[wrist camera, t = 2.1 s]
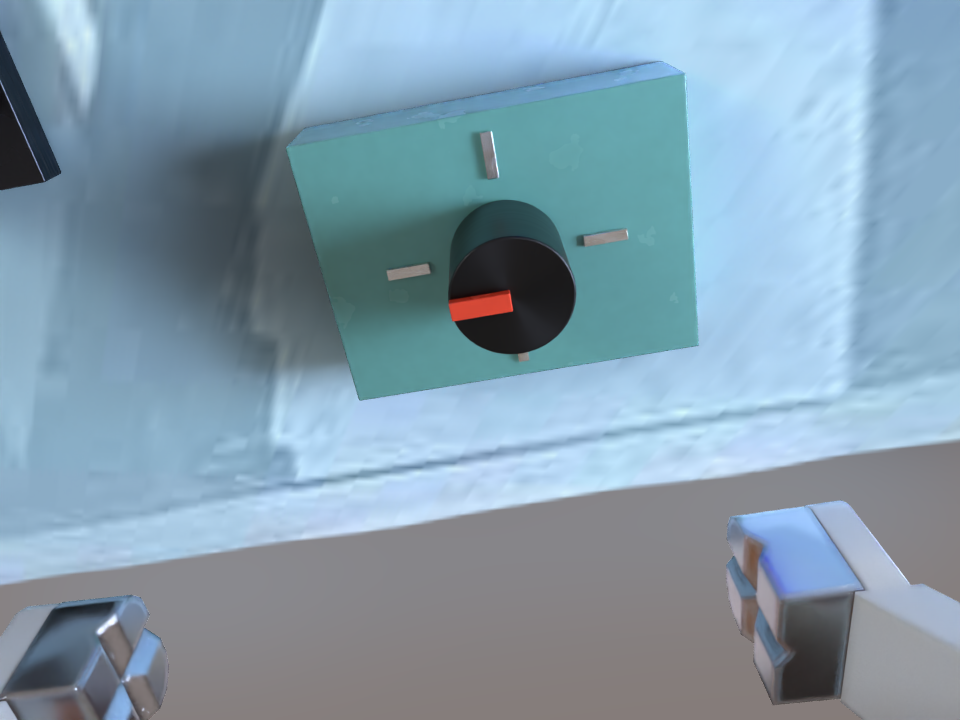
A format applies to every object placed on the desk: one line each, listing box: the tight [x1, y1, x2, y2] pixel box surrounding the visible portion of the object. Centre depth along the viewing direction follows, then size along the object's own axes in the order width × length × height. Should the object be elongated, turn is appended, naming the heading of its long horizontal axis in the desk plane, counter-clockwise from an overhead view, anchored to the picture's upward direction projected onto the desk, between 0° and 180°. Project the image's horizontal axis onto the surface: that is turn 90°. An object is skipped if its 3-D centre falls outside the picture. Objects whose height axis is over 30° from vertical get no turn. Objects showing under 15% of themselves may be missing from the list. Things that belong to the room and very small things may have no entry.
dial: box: [448, 200, 576, 354], centre depth 23 cm, size 4×4×4 cm
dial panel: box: [286, 61, 699, 401], centre depth 26 cm, size 12×9×3 cm
